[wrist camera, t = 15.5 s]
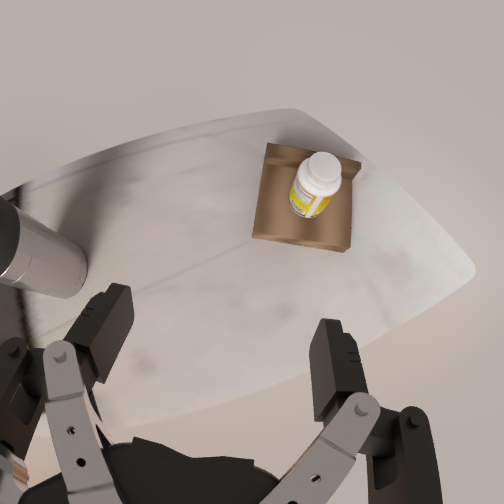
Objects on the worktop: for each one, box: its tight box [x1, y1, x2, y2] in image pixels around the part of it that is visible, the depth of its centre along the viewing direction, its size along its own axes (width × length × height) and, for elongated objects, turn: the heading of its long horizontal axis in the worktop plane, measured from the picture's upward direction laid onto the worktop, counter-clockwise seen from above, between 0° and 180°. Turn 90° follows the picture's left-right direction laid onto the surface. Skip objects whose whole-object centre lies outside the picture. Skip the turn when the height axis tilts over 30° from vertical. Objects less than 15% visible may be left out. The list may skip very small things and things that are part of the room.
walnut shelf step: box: [252, 143, 361, 252], centre depth 41 cm, size 14×12×7 cm
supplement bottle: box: [288, 152, 342, 218], centre depth 36 cm, size 6×6×10 cm
